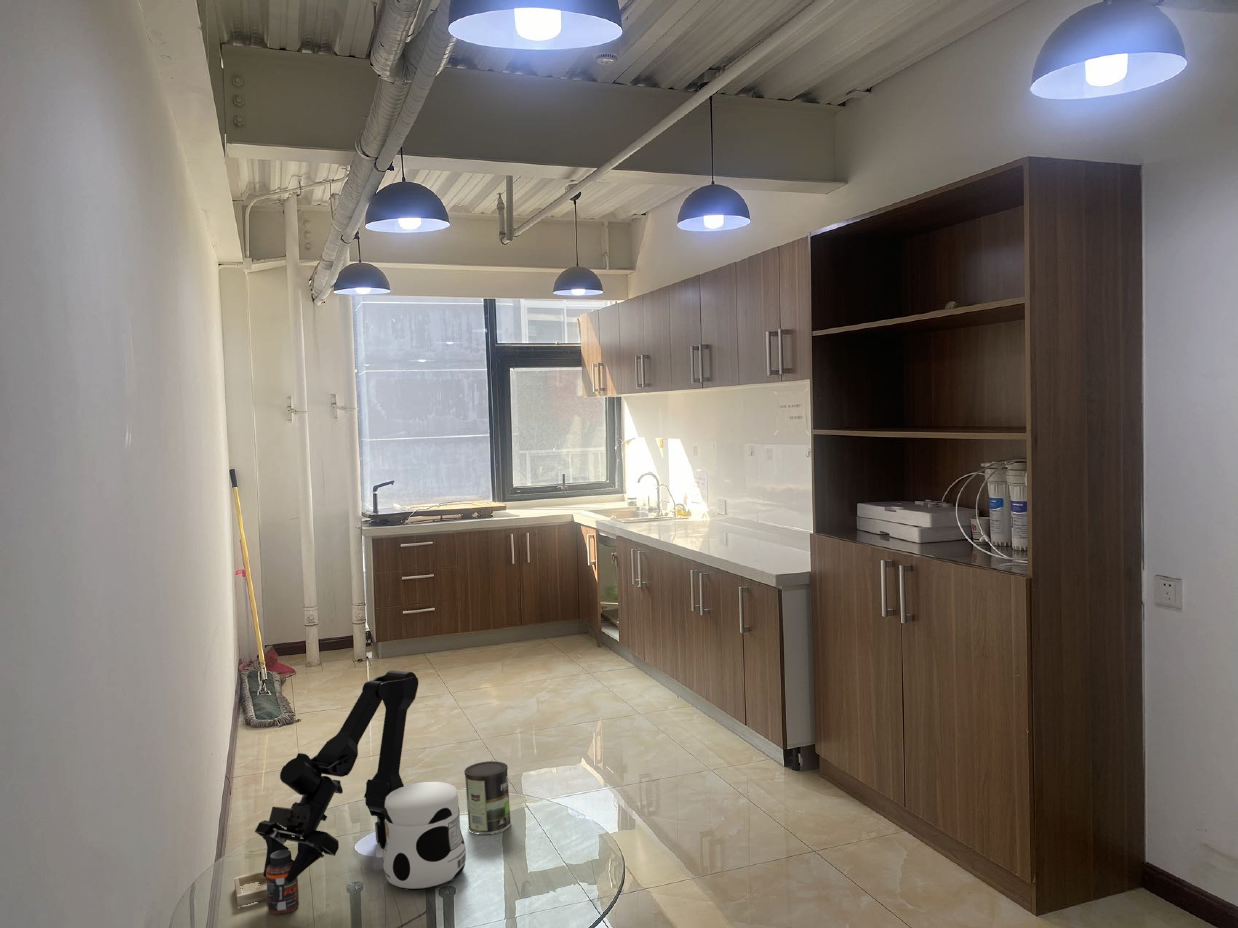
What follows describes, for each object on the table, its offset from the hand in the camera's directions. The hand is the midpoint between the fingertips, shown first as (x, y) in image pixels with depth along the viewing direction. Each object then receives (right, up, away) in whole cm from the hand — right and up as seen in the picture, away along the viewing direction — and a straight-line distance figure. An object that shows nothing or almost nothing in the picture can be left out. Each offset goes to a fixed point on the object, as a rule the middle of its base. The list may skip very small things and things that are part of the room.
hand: (276, 879), depth 186 cm
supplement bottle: (+1, -7, +1) cm, 7 cm away
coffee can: (+38, -4, +36) cm, 53 cm away
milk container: (+28, -5, +11) cm, 30 cm away
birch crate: (-7, -7, +9) cm, 13 cm away
